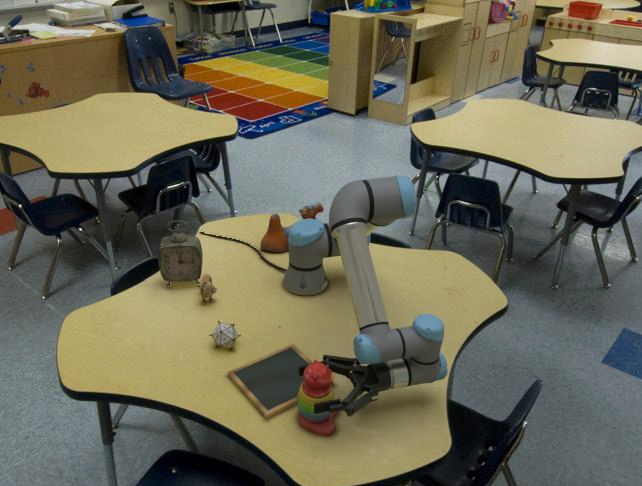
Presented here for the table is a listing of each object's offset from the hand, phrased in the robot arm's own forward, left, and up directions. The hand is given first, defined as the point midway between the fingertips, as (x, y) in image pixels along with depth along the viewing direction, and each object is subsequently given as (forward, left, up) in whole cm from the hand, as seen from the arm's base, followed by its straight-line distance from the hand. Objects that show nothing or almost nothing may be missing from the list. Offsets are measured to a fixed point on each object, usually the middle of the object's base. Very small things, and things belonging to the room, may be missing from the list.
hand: (306, 389), depth 145 cm
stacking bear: (+1, +3, -11) cm, 11 cm away
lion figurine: (-64, +6, -11) cm, 65 cm away
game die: (-38, -2, -11) cm, 40 cm away
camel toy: (-77, +50, -11) cm, 92 cm away
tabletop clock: (-77, +3, -11) cm, 78 cm away
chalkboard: (-16, +3, -11) cm, 19 cm away
